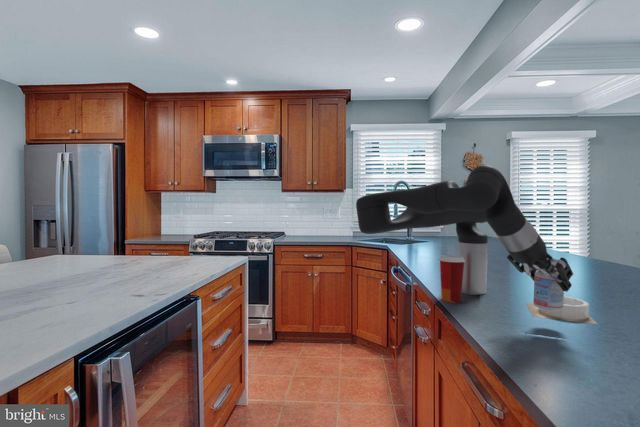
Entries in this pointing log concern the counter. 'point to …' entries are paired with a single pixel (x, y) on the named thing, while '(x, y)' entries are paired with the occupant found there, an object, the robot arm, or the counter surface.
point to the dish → (570, 309)
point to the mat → (537, 313)
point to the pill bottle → (547, 292)
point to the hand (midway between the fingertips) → (553, 285)
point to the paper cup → (451, 277)
